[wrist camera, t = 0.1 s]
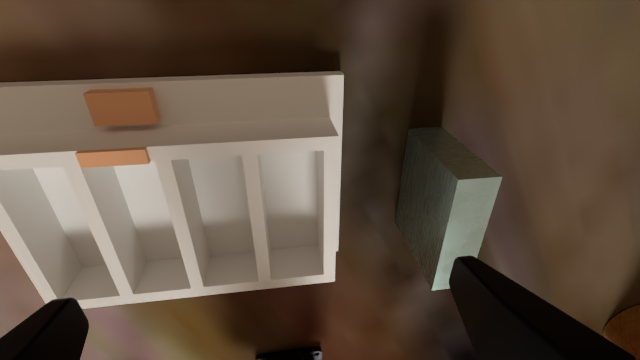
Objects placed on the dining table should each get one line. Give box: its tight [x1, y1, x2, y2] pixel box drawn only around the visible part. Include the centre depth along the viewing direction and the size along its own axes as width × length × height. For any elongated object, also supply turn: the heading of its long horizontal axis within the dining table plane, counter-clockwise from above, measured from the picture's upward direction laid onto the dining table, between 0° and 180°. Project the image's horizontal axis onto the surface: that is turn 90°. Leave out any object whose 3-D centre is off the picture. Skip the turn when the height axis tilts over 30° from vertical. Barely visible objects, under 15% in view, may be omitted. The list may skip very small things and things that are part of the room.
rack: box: [0, 71, 344, 309], centre depth 20 cm, size 14×20×4 cm
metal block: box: [395, 127, 502, 290], centre depth 22 cm, size 8×2×7 cm, turn 0°
